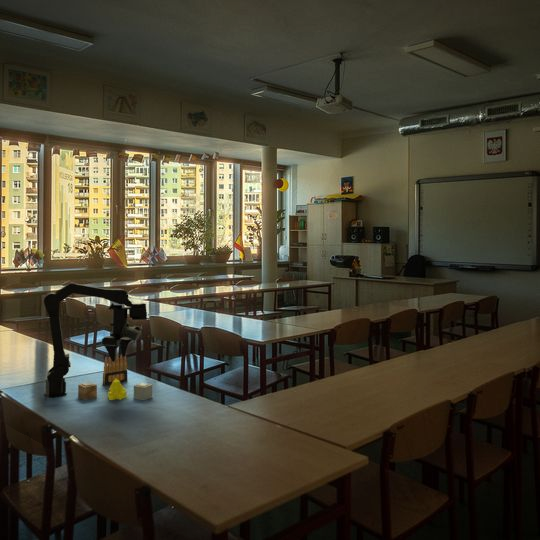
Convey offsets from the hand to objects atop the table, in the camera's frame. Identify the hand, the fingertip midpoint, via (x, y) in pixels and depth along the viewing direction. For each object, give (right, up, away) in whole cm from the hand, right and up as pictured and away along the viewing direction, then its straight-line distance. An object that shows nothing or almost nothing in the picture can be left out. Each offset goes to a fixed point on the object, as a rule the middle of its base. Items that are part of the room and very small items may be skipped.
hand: (118, 358), depth 211 cm
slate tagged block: (+12, -14, -8) cm, 20 cm away
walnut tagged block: (-9, -13, -10) cm, 19 cm away
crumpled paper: (+2, -14, -8) cm, 16 cm away
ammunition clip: (-5, -12, +11) cm, 17 cm away
